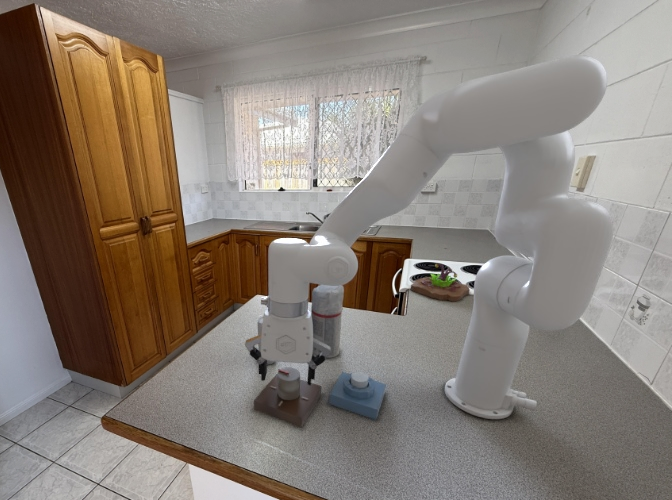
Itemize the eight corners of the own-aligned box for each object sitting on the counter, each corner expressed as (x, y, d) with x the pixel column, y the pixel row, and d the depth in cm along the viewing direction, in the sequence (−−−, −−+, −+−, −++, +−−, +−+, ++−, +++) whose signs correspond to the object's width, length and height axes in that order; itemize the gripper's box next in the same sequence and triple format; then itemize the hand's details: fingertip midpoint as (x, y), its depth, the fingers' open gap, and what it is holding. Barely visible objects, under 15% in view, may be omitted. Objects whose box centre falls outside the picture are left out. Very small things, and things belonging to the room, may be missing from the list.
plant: (426, 279, 139) (431, 255, 135) (474, 291, 125) (481, 264, 121) (403, 290, 128) (407, 264, 123) (453, 304, 114) (459, 275, 109)
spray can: (339, 361, 82) (345, 291, 74) (308, 358, 84) (310, 289, 76) (339, 344, 90) (345, 279, 82) (311, 342, 91) (313, 277, 83)
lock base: (321, 395, 70) (321, 385, 69) (301, 428, 61) (301, 417, 60) (278, 380, 75) (278, 371, 74) (254, 409, 66) (253, 399, 65)
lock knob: (303, 389, 68) (303, 369, 66) (294, 403, 64) (294, 382, 62) (283, 383, 70) (283, 363, 68) (273, 396, 66) (273, 375, 64)
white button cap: (369, 381, 68) (370, 374, 67) (365, 391, 65) (366, 383, 64) (353, 376, 69) (353, 369, 69) (348, 386, 67) (349, 378, 66)
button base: (384, 393, 70) (387, 377, 68) (376, 420, 63) (378, 402, 61) (341, 380, 75) (342, 365, 73) (328, 404, 67) (330, 387, 66)
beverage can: (265, 353, 86) (263, 314, 82) (280, 358, 84) (279, 318, 79) (255, 362, 82) (253, 321, 78) (271, 367, 80) (270, 326, 75)
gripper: (239, 310, 57) (242, 386, 64) (335, 316, 54) (328, 394, 61) (248, 295, 64) (250, 365, 70) (333, 300, 61) (327, 372, 68)
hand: (286, 378), depth 66 cm, fingers open, 9 cm apart
